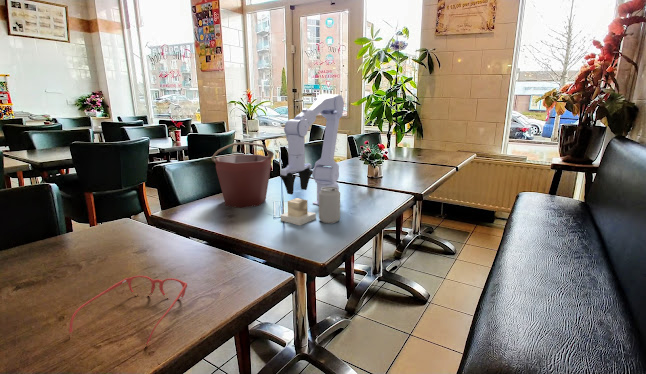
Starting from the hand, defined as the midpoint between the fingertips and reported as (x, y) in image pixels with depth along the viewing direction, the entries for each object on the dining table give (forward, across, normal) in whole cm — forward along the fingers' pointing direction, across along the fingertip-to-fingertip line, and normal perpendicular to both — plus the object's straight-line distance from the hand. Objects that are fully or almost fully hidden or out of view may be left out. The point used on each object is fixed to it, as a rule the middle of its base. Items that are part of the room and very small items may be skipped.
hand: (297, 191), depth 125 cm
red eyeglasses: (+10, +65, +13) cm, 67 cm away
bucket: (+10, -2, -30) cm, 32 cm away
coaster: (+10, +2, +2) cm, 10 cm away
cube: (+8, +2, +1) cm, 8 cm away
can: (+10, -4, +11) cm, 16 cm away
